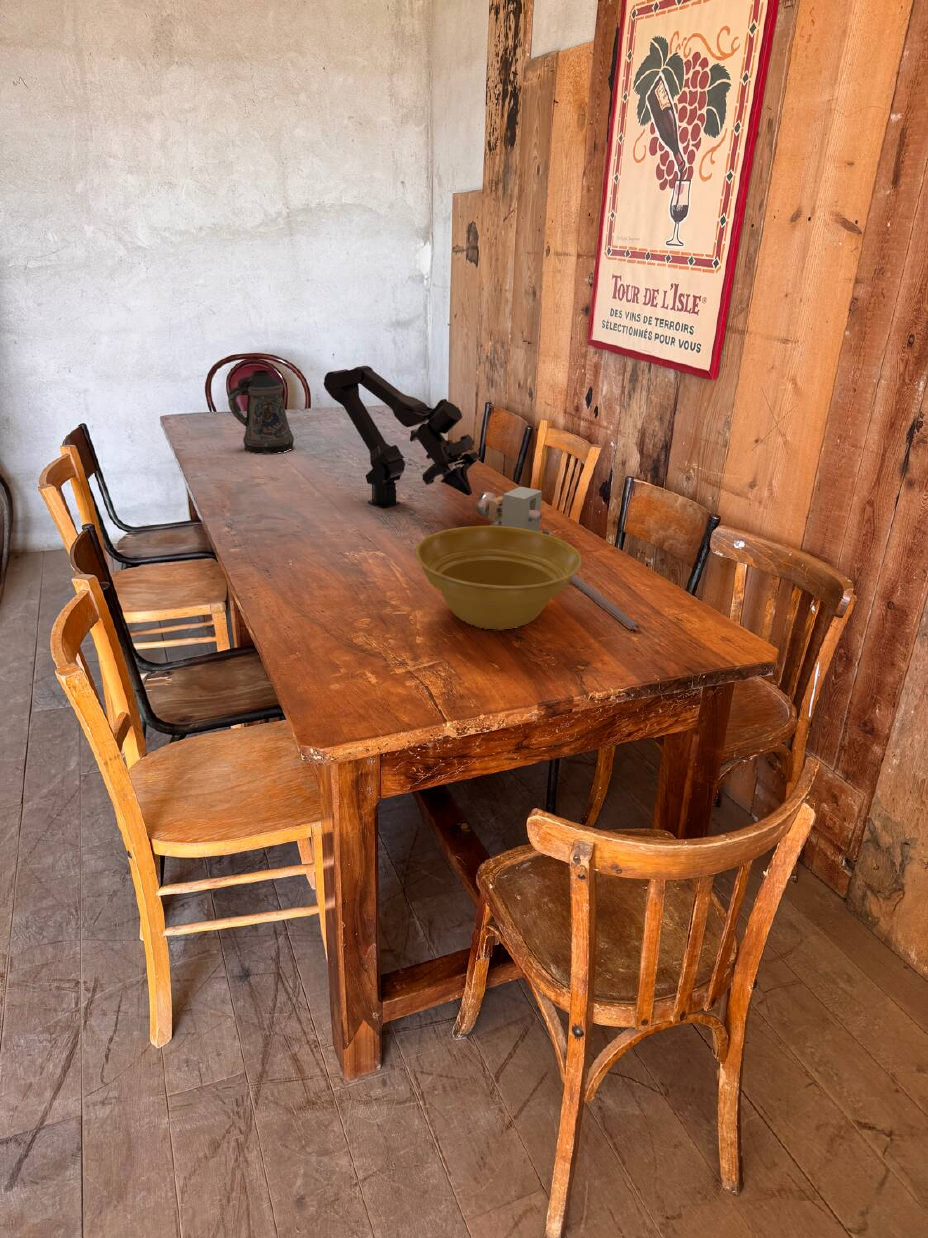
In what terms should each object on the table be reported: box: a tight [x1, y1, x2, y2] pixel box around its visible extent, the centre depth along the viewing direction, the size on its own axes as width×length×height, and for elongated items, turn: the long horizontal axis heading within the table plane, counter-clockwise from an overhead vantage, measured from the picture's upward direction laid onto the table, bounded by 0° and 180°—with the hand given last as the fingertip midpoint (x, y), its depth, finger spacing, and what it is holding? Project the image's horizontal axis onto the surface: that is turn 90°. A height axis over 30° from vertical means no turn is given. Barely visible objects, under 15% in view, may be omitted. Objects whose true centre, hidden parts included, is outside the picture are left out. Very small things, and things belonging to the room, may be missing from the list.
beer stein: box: [227, 369, 295, 454], centre depth 275 cm, size 16×19×25 cm
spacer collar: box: [488, 495, 503, 523], centre depth 211 cm, size 2×5×5 cm, turn 147°
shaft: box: [476, 491, 543, 522], centre depth 208 cm, size 16×6×6 cm, turn 57°
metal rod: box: [570, 573, 641, 630], centre depth 174 cm, size 2×27×2 cm, turn 20°
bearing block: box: [488, 486, 554, 537], centre depth 208 cm, size 16×9×12 cm, turn 57°
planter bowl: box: [414, 525, 583, 630], centre depth 164 cm, size 32×32×13 cm
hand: (470, 494), depth 214 cm, fingers closed
